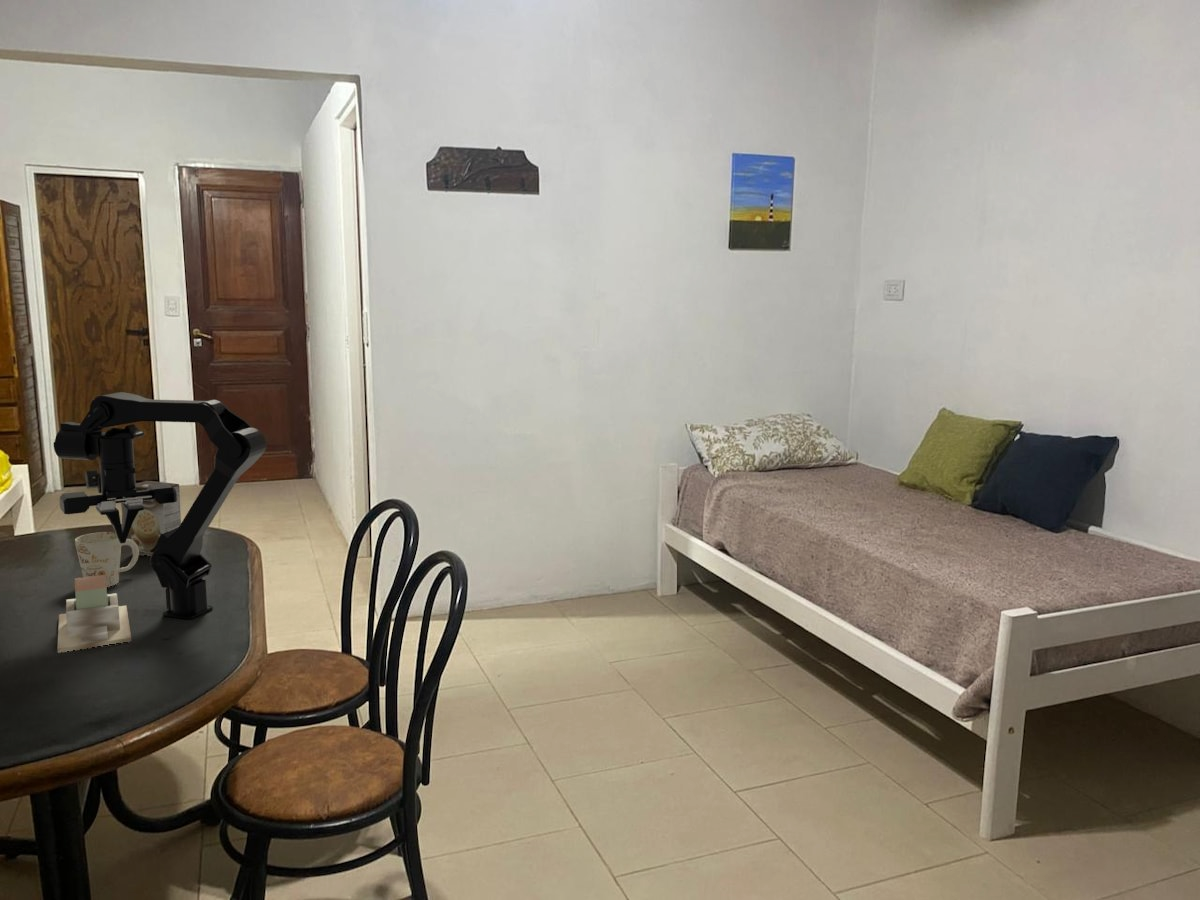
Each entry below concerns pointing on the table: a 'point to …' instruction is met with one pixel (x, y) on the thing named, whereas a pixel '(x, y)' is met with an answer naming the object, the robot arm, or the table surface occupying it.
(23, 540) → the table surface
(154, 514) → the coffee box
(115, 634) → the card holder
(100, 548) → the mug
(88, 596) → the block
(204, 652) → the table surface
